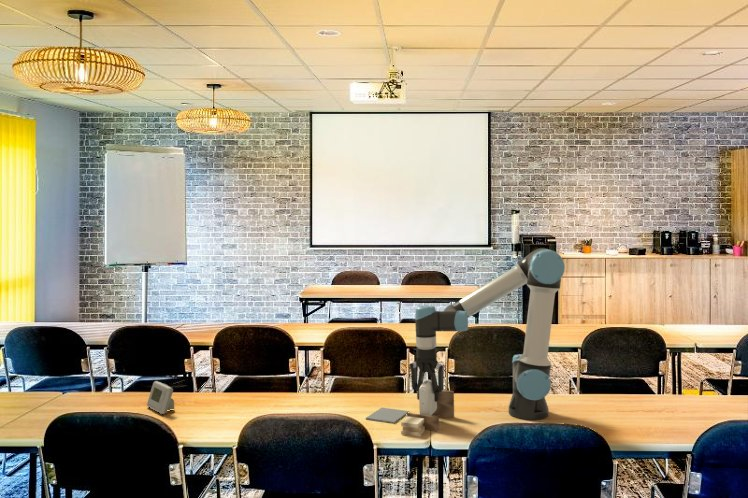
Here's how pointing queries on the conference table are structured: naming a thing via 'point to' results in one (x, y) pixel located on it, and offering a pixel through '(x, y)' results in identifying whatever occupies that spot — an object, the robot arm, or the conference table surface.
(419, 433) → the offcut stack
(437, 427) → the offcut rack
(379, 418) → the slate pad
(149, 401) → the digital clock
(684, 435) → the conference table surface
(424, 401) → the white arched block
